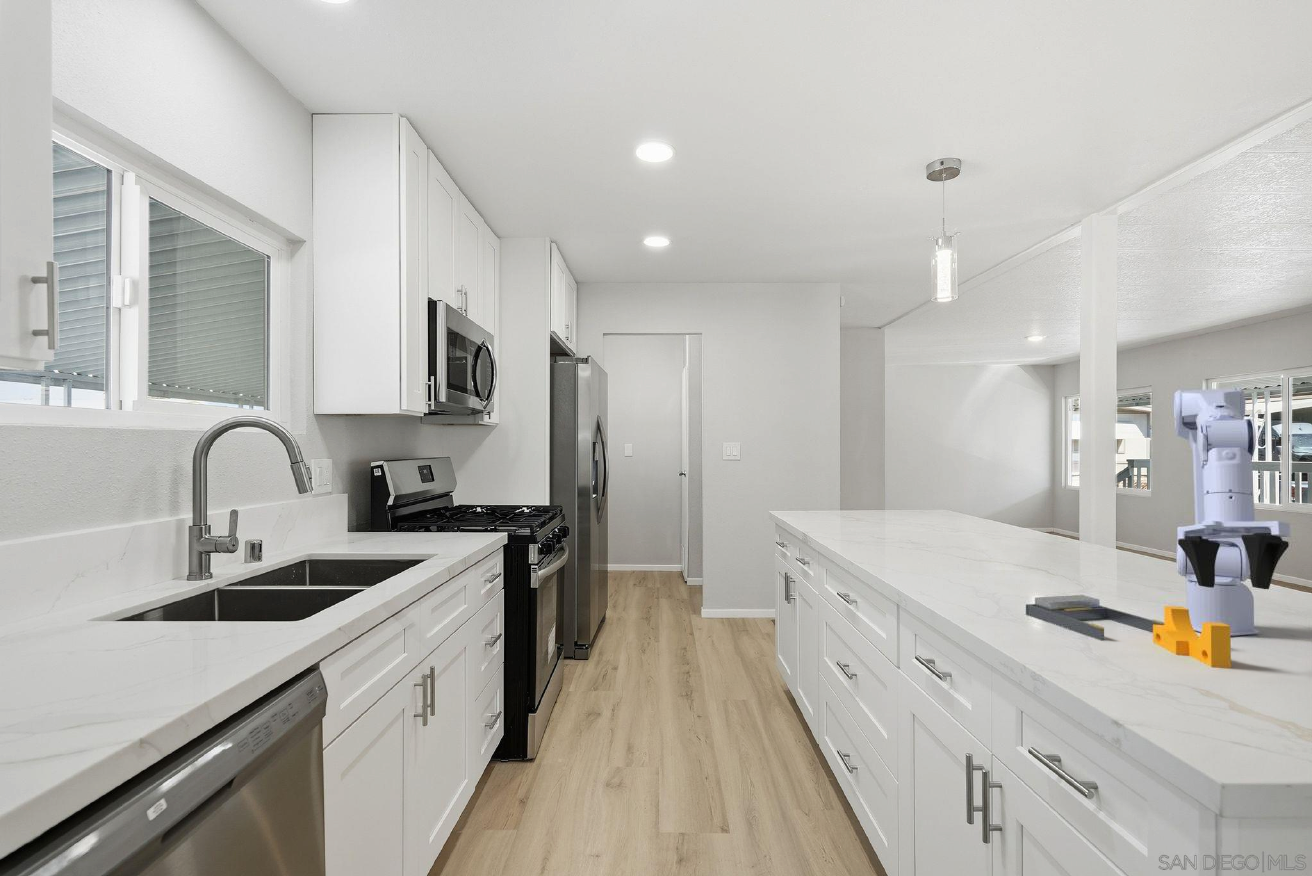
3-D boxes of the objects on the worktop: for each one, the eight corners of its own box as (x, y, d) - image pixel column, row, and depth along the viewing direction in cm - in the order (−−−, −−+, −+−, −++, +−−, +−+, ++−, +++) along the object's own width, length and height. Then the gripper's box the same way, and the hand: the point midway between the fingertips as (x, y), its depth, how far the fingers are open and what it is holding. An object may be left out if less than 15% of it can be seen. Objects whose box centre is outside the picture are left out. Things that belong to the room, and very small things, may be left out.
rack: (1084, 610, 132) (1084, 593, 132) (1166, 635, 115) (1166, 615, 115) (1025, 614, 129) (1025, 596, 129) (1101, 640, 112) (1101, 619, 112)
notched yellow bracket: (1153, 643, 111) (1152, 605, 111) (1181, 644, 110) (1181, 606, 110) (1198, 667, 99) (1197, 624, 99) (1230, 669, 98) (1230, 626, 98)
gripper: (1160, 496, 105) (1162, 582, 102) (1258, 486, 91) (1264, 584, 88) (1197, 504, 106) (1200, 588, 103) (1299, 494, 92) (1306, 592, 89)
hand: (1232, 587), depth 95 cm, fingers open, 7 cm apart
